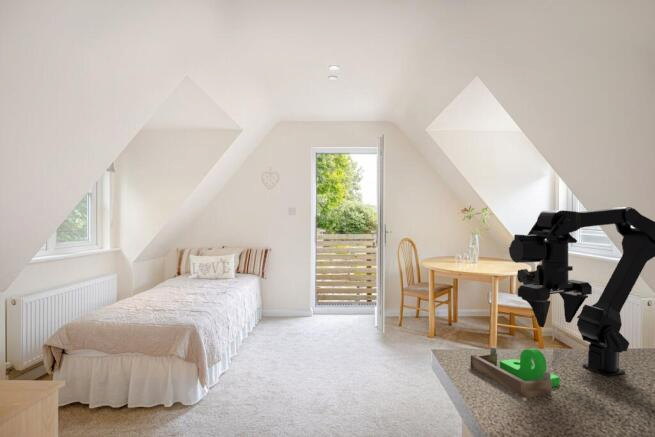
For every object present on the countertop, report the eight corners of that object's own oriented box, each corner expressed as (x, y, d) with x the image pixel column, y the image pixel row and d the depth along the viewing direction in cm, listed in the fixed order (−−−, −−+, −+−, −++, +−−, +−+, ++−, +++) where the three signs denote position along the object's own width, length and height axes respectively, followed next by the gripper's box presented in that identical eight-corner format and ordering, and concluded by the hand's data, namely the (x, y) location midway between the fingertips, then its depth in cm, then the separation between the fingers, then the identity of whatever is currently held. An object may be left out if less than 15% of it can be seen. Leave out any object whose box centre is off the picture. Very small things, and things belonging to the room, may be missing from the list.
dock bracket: (493, 363, 101) (493, 346, 101) (551, 393, 84) (552, 373, 84) (470, 366, 99) (470, 349, 99) (525, 398, 82) (526, 377, 82)
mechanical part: (559, 385, 89) (560, 351, 89) (539, 389, 87) (539, 354, 87) (518, 365, 100) (518, 335, 100) (499, 368, 98) (500, 337, 98)
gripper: (552, 255, 106) (552, 312, 106) (499, 260, 99) (500, 320, 100) (593, 260, 96) (593, 323, 96) (537, 265, 89) (537, 333, 89)
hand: (554, 324), depth 95 cm, fingers open, 9 cm apart
